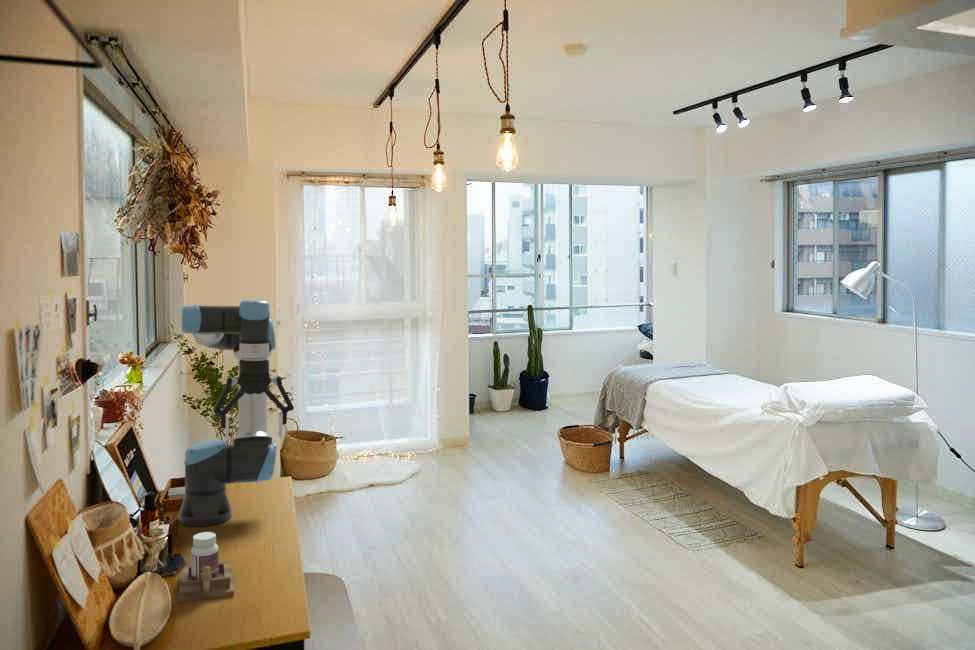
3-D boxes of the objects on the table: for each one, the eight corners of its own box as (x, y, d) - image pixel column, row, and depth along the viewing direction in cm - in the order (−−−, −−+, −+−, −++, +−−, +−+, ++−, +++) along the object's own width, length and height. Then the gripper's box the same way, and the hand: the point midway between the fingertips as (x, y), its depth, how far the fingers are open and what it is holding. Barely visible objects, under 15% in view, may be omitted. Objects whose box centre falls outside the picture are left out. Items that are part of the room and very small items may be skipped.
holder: (180, 578, 180) (180, 550, 179) (231, 572, 184) (231, 545, 184) (178, 603, 167) (178, 572, 166) (233, 596, 171) (233, 566, 170)
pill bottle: (223, 577, 177) (223, 532, 177) (208, 588, 172) (208, 541, 171) (201, 575, 179) (201, 530, 178) (185, 585, 173) (185, 538, 172)
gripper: (203, 361, 185) (204, 444, 186) (304, 359, 194) (303, 438, 195) (203, 358, 192) (203, 437, 193) (300, 356, 201) (300, 432, 202)
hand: (254, 438), depth 194 cm, fingers open, 13 cm apart
